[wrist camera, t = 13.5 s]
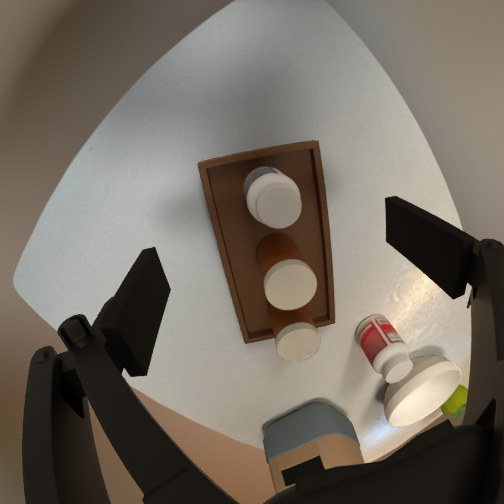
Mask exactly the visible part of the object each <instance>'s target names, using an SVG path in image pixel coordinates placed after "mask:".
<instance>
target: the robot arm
mask: <svg viewBox="0 0 504 504" xmlns="http://www.w3.org/2000/svg"><path fill="white" fill-rule="evenodd" d="M385 206H386V242H387V243H389V244H390V245H391V246H392V247H394V248H395V249H396V250H397V251H398V252H400V253H401V254H402V255H403V256H404V257H406V258H407V259H408V260H409V261H410V262H412V263H413V264H414V265H415V266H416V267H418V268H419V269H420V270H421V271H422V272H423V273H424V274H426V275H427V276H428V277H429V278H430V279H431V280H432V281H433V282H435V283H436V284H437V285H438V286H439V287H440V288H441V289H442V290H443V291H445V292H446V293H447V294H448V295H449V296H450V297H451V298H452V299H456V298H458V297H460V296H462V295H464V294H465V290H466V285H467V283H468V284H470V285H471V286H472V289H471V293H470V297H469V301H468V305H467V308H469V306H470V305H471V329H472V333H471V364H470V377H469V387H468V395H467V403H466V410H465V415H464V419H463V421H462V424H461V425H458V426H452V424H451V422H450V421H449V419H447V420H446V421H444V422H442V423H440V424H439V425H437V426H435V427H433V428H431V429H429V430H427V431H425V432H423V433H421V434H419V435H417V436H416V437H415V438H413V439H412V440H411V441H410V442H408V443H407V444H406V445H404V446H403V447H402V448H401V449H399V450H398V451H396V452H395V453H393V454H392V455H391V456H389V457H388V458H386V459H385V460H383V461H379V462H373V463H365V464H356V465H346V466H336V467H333V468H329V469H325V470H321V471H318V472H313V473H309V474H305V475H300V476H296V477H294V479H295V485H293V486H291V487H289V488H286V489H284V490H283V491H281V492H279V493H277V494H276V495H274V496H273V497H271V498H270V499H268V500H267V501H266V502H265V503H263V504H504V245H503V244H502V243H501V242H499V241H496V240H494V239H483V240H482V241H479V240H477V239H475V238H474V237H472V236H470V235H469V234H467V233H465V232H464V231H462V230H460V229H458V228H457V227H455V226H453V225H451V224H450V223H448V222H446V221H444V220H442V219H440V218H439V217H437V216H435V215H433V214H431V213H429V212H427V211H425V210H423V209H421V208H419V207H417V206H415V205H413V204H411V203H409V202H407V201H405V200H403V199H401V198H399V197H397V196H393V197H387V198H385ZM170 291H171V289H170V286H169V284H168V281H167V278H166V276H165V273H164V270H163V268H162V265H161V262H160V259H159V257H158V254H157V251H156V248H155V247H152V248H148V249H144V250H142V252H141V253H140V255H139V256H138V258H137V259H136V261H135V263H134V264H133V266H132V267H131V269H130V271H129V272H128V274H127V275H126V277H125V279H124V280H123V282H122V284H121V285H120V287H119V289H118V291H117V292H116V294H115V296H114V297H111V298H110V299H109V300H108V301H107V302H106V303H105V304H104V306H103V307H102V309H101V312H99V314H98V317H97V318H96V319H95V321H94V323H93V325H92V327H91V326H90V324H89V322H88V320H87V319H86V317H85V316H84V315H82V314H78V315H74V316H72V317H70V318H68V319H66V320H65V321H64V322H63V323H62V324H61V325H60V326H59V328H58V335H59V336H60V338H61V339H62V341H63V342H64V344H65V345H66V347H67V348H68V350H69V351H66V352H63V353H60V354H57V352H56V351H55V350H54V348H53V347H52V346H46V347H43V348H41V349H39V350H38V351H36V352H35V354H34V356H33V357H32V359H31V363H30V368H29V374H28V381H27V388H26V396H25V406H24V418H23V439H22V461H23V481H24V493H25V501H26V504H111V503H110V500H109V497H108V493H107V490H106V487H105V483H104V480H103V476H102V472H101V468H100V464H99V460H98V456H97V451H96V447H95V442H94V436H93V431H92V425H91V419H90V413H89V406H88V400H89V402H90V404H91V406H92V408H93V410H94V412H95V414H96V416H97V418H98V420H99V422H100V424H101V426H102V428H103V430H104V432H105V433H106V435H107V437H108V439H109V441H110V442H111V444H112V446H113V447H114V449H115V451H116V453H117V454H118V456H119V458H120V459H121V461H122V462H123V464H124V466H125V467H126V469H127V470H128V471H129V473H130V474H131V476H132V478H133V479H134V480H135V482H136V483H137V485H138V486H139V487H140V489H141V490H142V492H143V493H144V498H143V499H142V500H143V503H144V504H239V503H238V502H237V501H236V500H235V499H233V498H232V497H231V496H230V495H228V494H227V493H226V492H225V491H224V490H223V489H221V488H220V487H219V486H218V485H217V484H216V483H215V482H214V481H213V480H212V479H210V478H209V477H208V476H207V475H206V474H205V473H204V472H203V471H202V470H201V469H200V468H199V467H198V466H197V465H196V464H195V463H194V462H193V461H192V460H191V459H190V458H189V457H188V456H187V455H186V454H185V453H184V452H183V451H182V450H181V448H180V447H179V446H178V445H177V444H176V443H175V442H174V441H173V440H172V439H171V437H170V436H169V435H168V434H167V433H166V432H165V431H164V430H163V428H162V427H161V426H160V425H159V423H158V422H157V421H156V420H155V419H154V417H153V416H152V415H151V414H150V412H149V411H148V410H147V409H146V407H145V406H144V405H143V403H142V402H141V401H140V399H139V398H138V397H137V395H136V394H135V393H134V391H133V390H132V389H131V387H130V386H129V384H128V383H127V381H126V380H125V379H124V377H123V376H122V372H123V369H124V368H125V369H126V371H127V372H128V374H129V375H130V377H136V376H147V373H148V369H149V365H150V361H151V357H152V353H153V349H154V346H155V342H156V338H157V335H158V331H159V328H160V324H161V321H162V317H163V314H164V310H165V307H166V304H167V300H168V297H169V294H170Z"/></svg>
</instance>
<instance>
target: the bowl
mask: <svg viewBox="0 0 504 504" xmlns="http://www.w3.org/2000/svg"><path fill="white" fill-rule="evenodd" d="M411 361H412V363H413V367H412V369H411V371H410V372H409V374H408V375H407V376H406V377H404V378H403V379H401V380H400V381H398V382H395V383H390V384H389V386H388V388H387V390H386V393H385V398H384V411H385V416H386V419H387V421H388V424H389V425H390V426H392V427H404V426H407V425H410V424H413V423H415V422H417V421H419V420H421V419H423V418H425V417H426V416H428V415H429V414H431V413H432V412H434V411H435V410H436V409H438V408H439V407H440V406H441V405H442V404H443V403H444V402H445V401H446V400H447V399H448V398H449V397H450V396H451V395H452V394H453V392H454V391H455V389H456V388H457V386H458V385H459V383H460V380H461V376H462V373H461V370H460V369H459V368H458V367H457V366H456V365H455V364H454V363H453V362H451V361H450V360H448V359H447V358H445V357H441V356H435V355H430V356H426V357H418V358H415V359H413V360H411Z"/></svg>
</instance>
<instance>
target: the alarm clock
mask: <svg viewBox="0 0 504 504" xmlns="http://www.w3.org/2000/svg"><path fill="white" fill-rule="evenodd" d="M263 443H264V449H265V455H266V460H267V463H268V464H269V468H270V472H271V477H272V481H273V485H274V489H275V492H276V494H277V493H279V492H281V491H283V490H284V489H286V488H289V487H291V486H293V485H295V479H294V477H296V476H300V475H305V474H309V473H313V472H318V471H321V470H325V469H329V468H333V467H336V466H346V465H356V464H365V463H364V460H363V457H362V453H361V450H360V444H359V441H358V438H357V435H356V432H355V430H354V427H353V424H352V423H351V421H350V420H349V419H348V418H347V417H346V416H344V415H343V414H341V413H340V412H338V411H337V410H335V409H334V408H332V407H331V406H329V405H327V404H324V403H312V404H310V405H307V406H305V407H303V408H301V409H299V410H297V411H296V412H294V413H292V414H290V415H288V416H286V417H284V418H282V419H280V420H278V421H276V422H274V423H273V424H271V425H270V426H269V427H268V428H267V429H266V432H265V435H264V439H263Z"/></svg>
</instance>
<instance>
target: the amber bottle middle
mask: <svg viewBox="0 0 504 504" xmlns="http://www.w3.org/2000/svg"><path fill="white" fill-rule="evenodd" d="M257 258H258V262H259V266H260V270H261V274H262V278H263V282H264V290H265V294H266V297H267V299H268V301H269V302H270V303H271V304H272V305H273V306H275V307H276V308H279V309H282V310H293V309H297V308H300V307H302V306H304V305H305V304H307V303H308V302H309V301H310V300H311V299H312V297H313V296H314V294H315V292H316V288H317V280H316V277H315V275H314V273H313V271H312V270H311V268H310V267H309V266H308V265H307V263H306V261H305V260H304V258H303V256H302V255H301V253H300V251H299V250H298V248H297V246H296V245H295V243H294V241H293V240H292V239H291V238H290V237H289V236H288V235H286V234H283V233H272V234H269V235H267V236H265V237H264V238H263V239H262V240H261V241H260V243H259V244H258V247H257Z"/></svg>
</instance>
